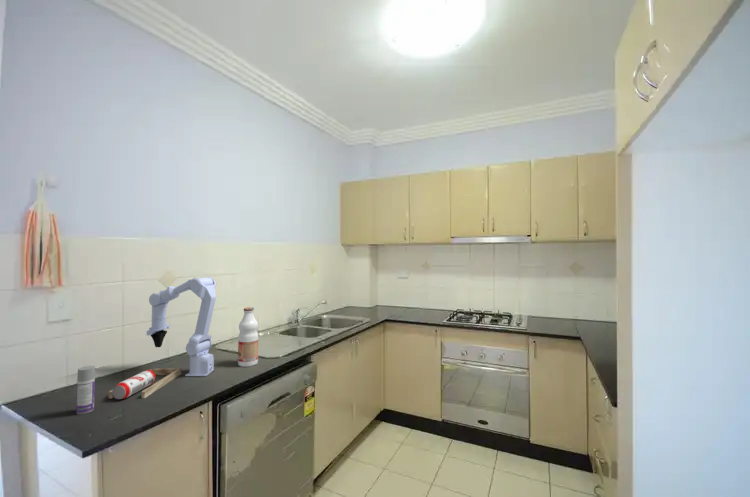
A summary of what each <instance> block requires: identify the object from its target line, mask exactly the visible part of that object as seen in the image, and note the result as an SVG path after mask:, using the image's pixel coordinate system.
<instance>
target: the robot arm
mask: <svg viewBox="0 0 750 497" xmlns="http://www.w3.org/2000/svg"><path fill="white" fill-rule="evenodd" d="M213 278H214V277H212V276H206V277H193V278H192V279H188V280H187V281H185V282H183V283H182V284H180V285H178V286H171V285H170V286H167V288H166V289H163V290H159V292H158V293H152V294H150V296H149V299H148V302H149V305H150V306H151V327H149V328H148V330H146V336H150V337H151V338H152V341H153V344H154V347H155V348H161V347H162V346H163V345H162V344H163V342H164V339H165V338H166V335H167V333H168V331H167V330H168V329H171V327H170V326H171V325H170V324H169V323H167V308H168V304H169V302H171V301H173V300H175V299H177V298H178V297H180V294H182V293H184V292H187V291H191V292H193V293H194V295H195V296H197V297H198V298H200V299H201V302H200V307H199V311H198V316H197V322H196V326H195V330H194V333H193V334H192V335H191V336H190V338H189V340H188V343H186V346H185V352H186V354H188V356H189V372H188V373H186V374H185V377H207V376H209V375H210V374H211V373H213V371H215V369H214V364H215V361H214V360H215V357H214V354H213V353H209V350H210V349H211V347H212V344H213V343H212V336H211V334H209V332H210V326H211V322H212V316H213V312H214V308H215V304H216V303H215V302H216V299H217V294H216V286H217V282H216V281H215V279H213ZM166 329H167V330H166Z"/></svg>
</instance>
